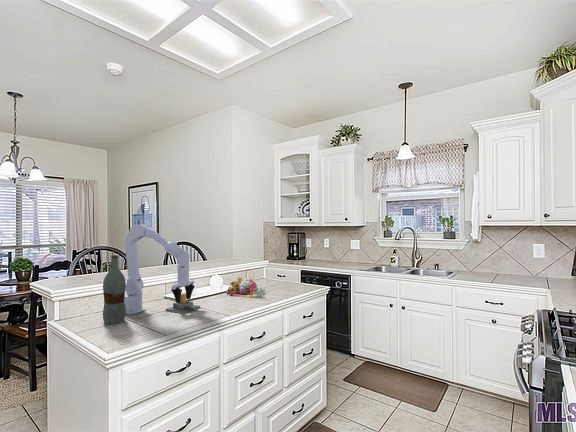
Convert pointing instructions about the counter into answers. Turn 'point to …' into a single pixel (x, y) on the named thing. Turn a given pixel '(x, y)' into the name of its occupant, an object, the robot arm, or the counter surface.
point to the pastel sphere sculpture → (245, 288)
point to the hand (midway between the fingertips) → (183, 300)
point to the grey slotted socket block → (183, 307)
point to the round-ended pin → (183, 298)
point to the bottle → (114, 294)
